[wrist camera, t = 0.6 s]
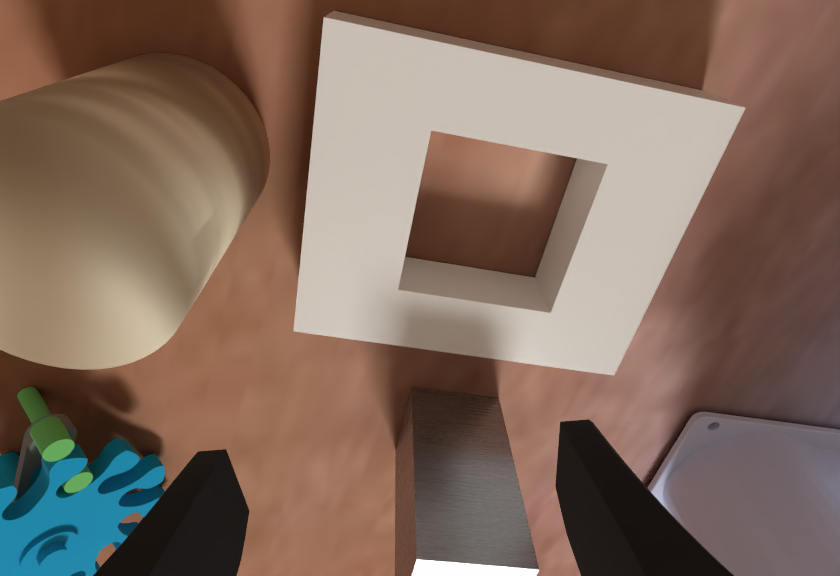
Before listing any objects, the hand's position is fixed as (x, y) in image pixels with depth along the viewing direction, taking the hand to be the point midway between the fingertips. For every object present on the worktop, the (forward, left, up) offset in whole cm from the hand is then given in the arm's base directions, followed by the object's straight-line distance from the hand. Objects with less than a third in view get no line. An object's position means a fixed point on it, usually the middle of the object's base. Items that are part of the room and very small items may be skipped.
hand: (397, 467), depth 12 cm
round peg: (+8, -3, -10) cm, 13 cm away
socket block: (-3, -3, -10) cm, 11 cm away
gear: (+12, +13, -10) cm, 21 cm away
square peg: (-4, +8, -10) cm, 13 cm away
